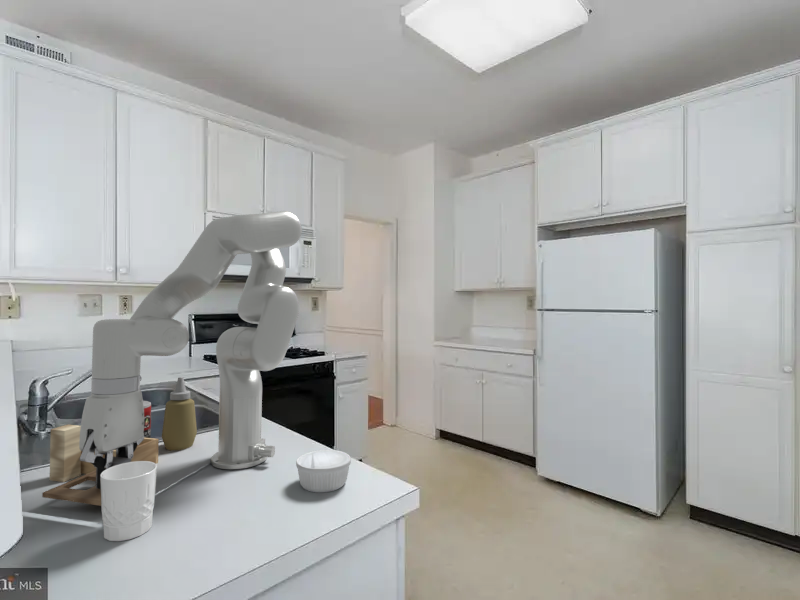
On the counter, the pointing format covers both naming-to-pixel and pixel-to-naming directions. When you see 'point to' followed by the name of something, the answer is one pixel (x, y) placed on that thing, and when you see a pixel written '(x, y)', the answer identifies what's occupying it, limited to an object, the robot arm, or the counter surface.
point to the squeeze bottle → (179, 419)
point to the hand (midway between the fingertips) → (113, 484)
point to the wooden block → (65, 453)
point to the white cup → (128, 499)
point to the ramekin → (323, 470)
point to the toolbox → (142, 453)
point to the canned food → (147, 419)
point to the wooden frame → (81, 496)
